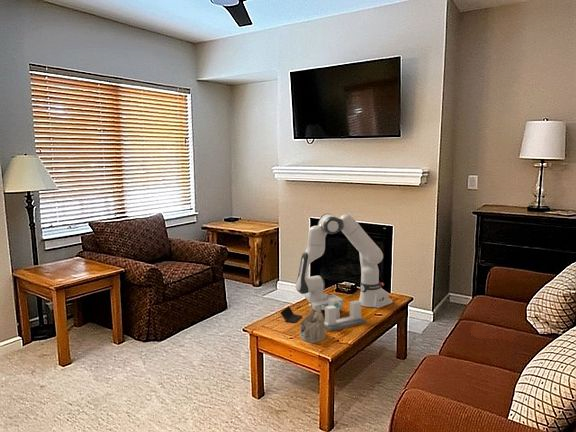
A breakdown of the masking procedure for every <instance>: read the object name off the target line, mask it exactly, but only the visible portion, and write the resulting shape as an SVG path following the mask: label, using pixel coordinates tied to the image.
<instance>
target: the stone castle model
mask: <svg viewBox="0 0 576 432" xmlns="http://www.w3.org/2000/svg"><path fill="white" fill-rule="evenodd" d="M324 321H325V316H324V313H322V310H321V308H319V310H318V311H314V309H313V308H310V309H309V311H308V315H306V316H305V318H304V319H303V320H302V321H300V327H299V328H300V329H299V331H298V334H299V335H300V339H301V340H302V341H303V342H307V343H310V344H312V343H313V344H314V343H317V342H321V341H323V340H324V339H325V338H326V336H327V334H326V329H325V325H324Z"/></svg>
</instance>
